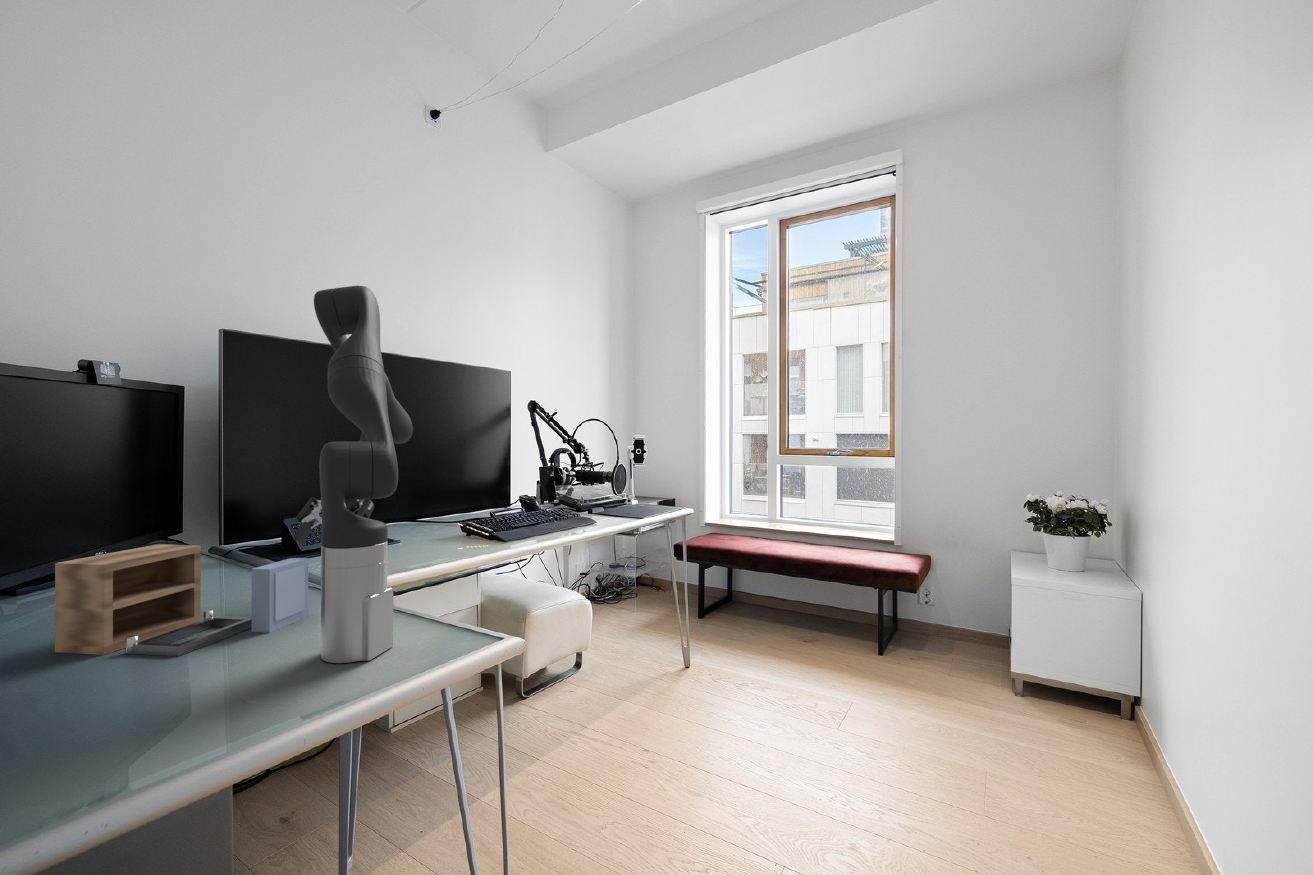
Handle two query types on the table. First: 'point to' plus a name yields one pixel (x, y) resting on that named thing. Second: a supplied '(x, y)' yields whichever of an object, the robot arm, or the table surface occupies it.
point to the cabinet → (125, 597)
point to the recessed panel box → (279, 594)
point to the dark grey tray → (162, 642)
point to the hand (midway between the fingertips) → (317, 542)
